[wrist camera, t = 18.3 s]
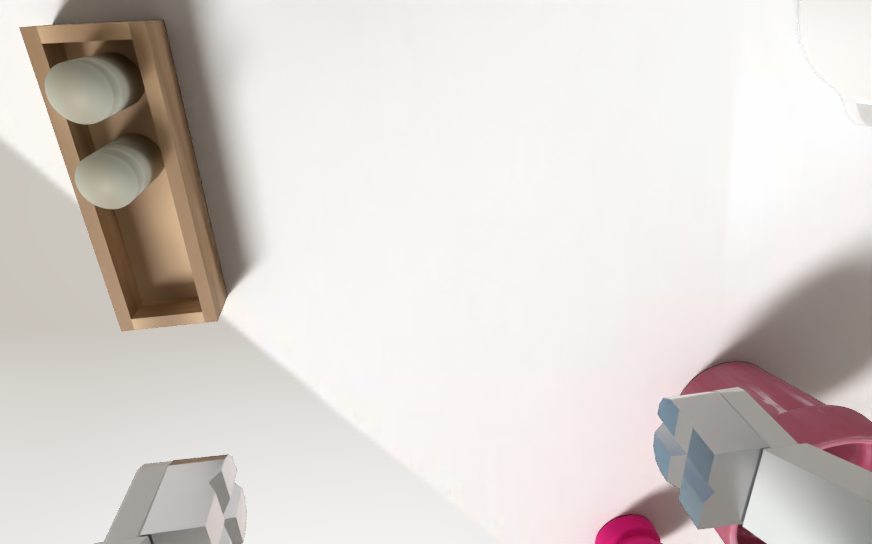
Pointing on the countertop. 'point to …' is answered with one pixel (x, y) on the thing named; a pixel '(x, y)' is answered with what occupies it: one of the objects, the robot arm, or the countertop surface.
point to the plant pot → (790, 421)
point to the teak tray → (165, 209)
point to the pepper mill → (628, 531)
